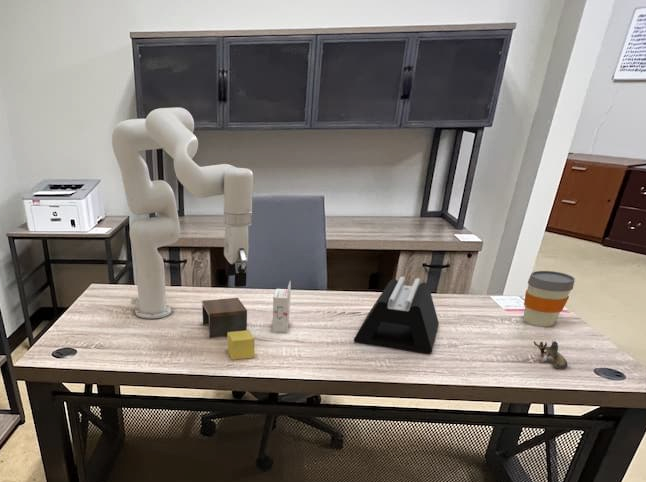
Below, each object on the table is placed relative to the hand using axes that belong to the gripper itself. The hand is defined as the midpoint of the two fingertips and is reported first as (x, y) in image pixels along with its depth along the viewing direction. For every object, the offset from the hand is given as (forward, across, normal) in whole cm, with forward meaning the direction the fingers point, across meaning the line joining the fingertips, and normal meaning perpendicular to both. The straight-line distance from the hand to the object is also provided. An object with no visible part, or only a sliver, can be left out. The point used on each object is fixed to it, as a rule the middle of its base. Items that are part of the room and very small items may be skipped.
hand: (236, 280), depth 151 cm
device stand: (+20, +4, +52) cm, 55 cm away
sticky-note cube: (+20, +7, 0) cm, 21 cm away
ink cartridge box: (+20, -10, +18) cm, 29 cm away
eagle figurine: (+19, +31, +84) cm, 91 cm away
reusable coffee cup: (+19, +4, +102) cm, 103 cm away
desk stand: (+20, -13, 0) cm, 24 cm away
